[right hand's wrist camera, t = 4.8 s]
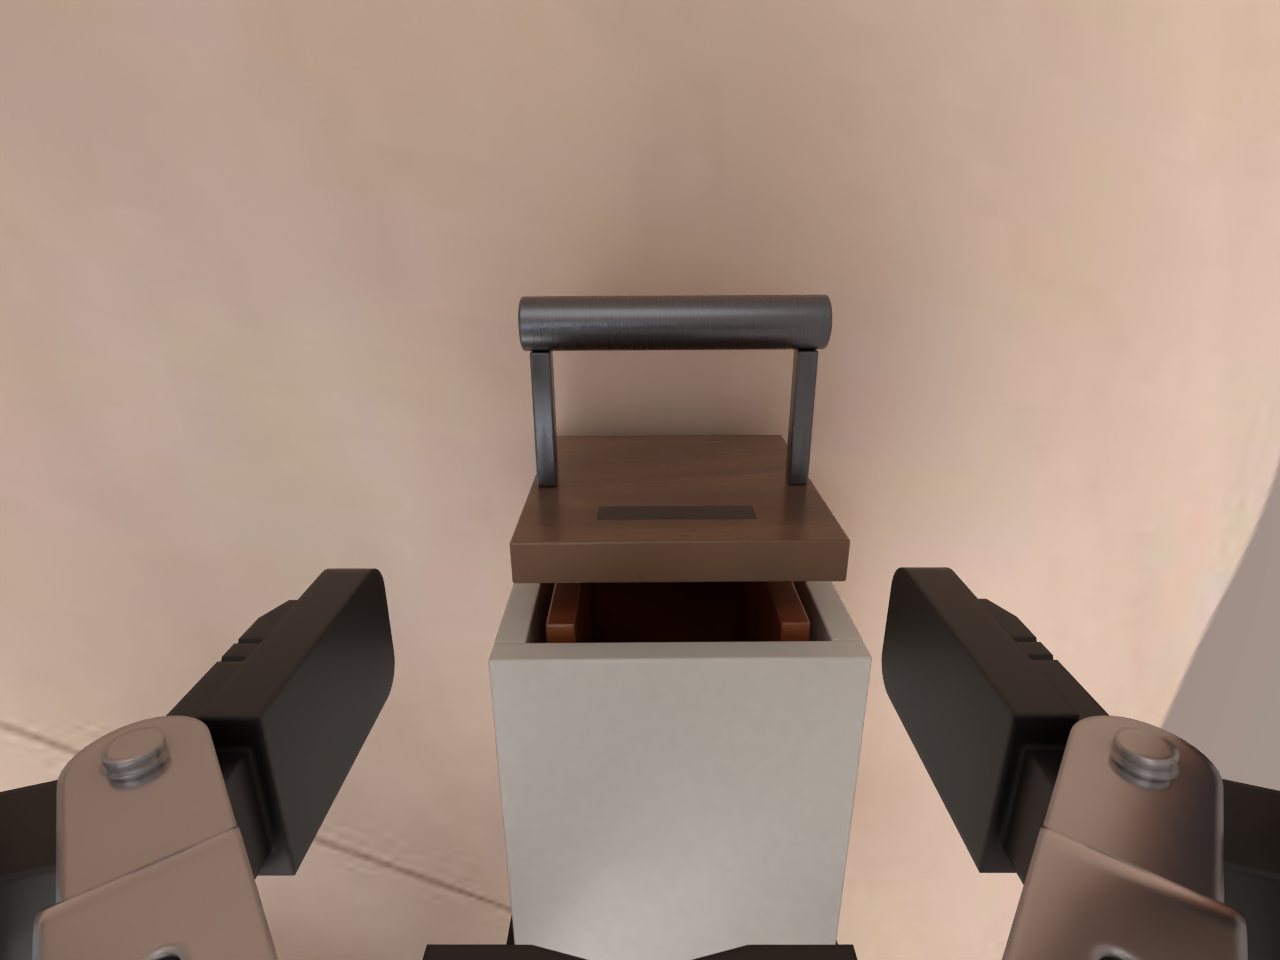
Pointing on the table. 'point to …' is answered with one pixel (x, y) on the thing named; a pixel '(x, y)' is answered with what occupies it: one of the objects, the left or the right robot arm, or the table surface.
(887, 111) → the table surface
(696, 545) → the drawer
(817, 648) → the tall grey storage box
